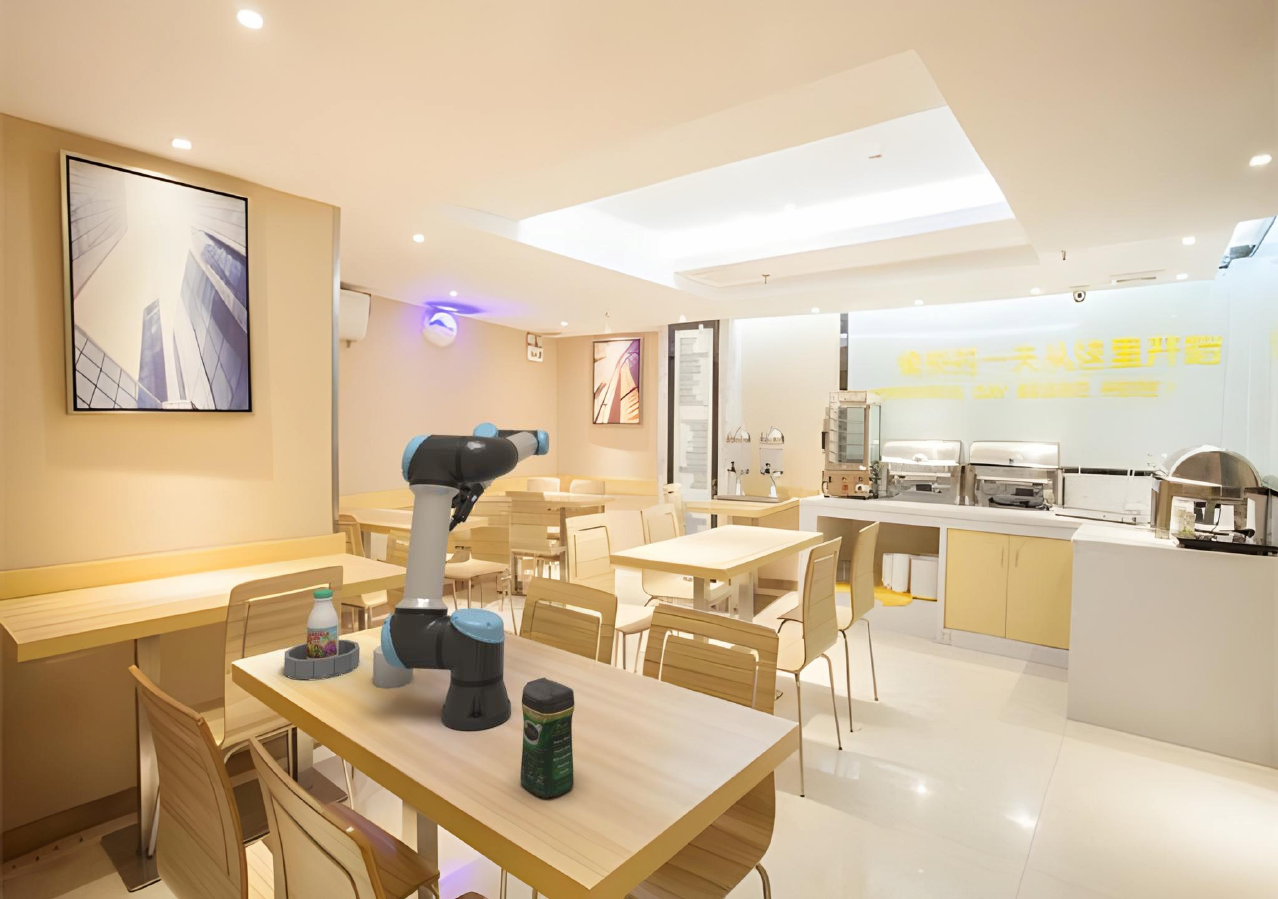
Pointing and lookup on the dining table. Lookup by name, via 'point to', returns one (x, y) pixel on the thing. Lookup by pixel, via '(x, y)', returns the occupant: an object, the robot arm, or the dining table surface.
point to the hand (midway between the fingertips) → (428, 535)
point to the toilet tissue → (388, 672)
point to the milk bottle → (322, 627)
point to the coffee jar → (547, 737)
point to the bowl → (321, 662)
